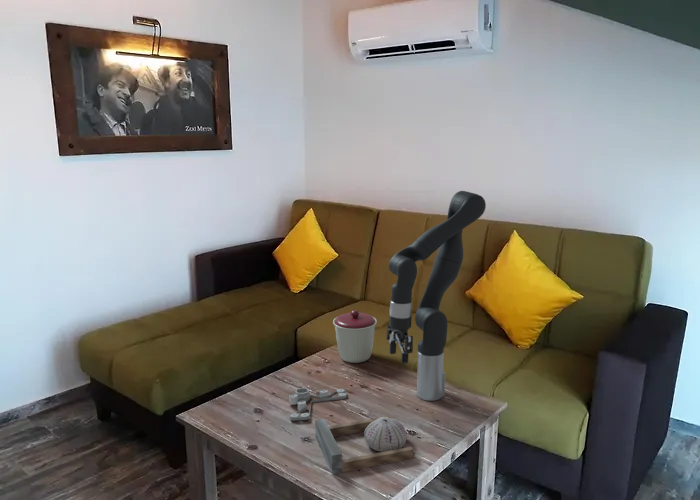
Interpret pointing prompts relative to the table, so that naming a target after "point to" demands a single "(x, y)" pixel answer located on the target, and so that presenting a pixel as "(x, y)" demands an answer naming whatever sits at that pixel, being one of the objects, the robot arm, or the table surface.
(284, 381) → the table surface
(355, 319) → the canister
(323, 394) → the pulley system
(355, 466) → the track
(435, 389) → the robot arm
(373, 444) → the sea urchin shell
